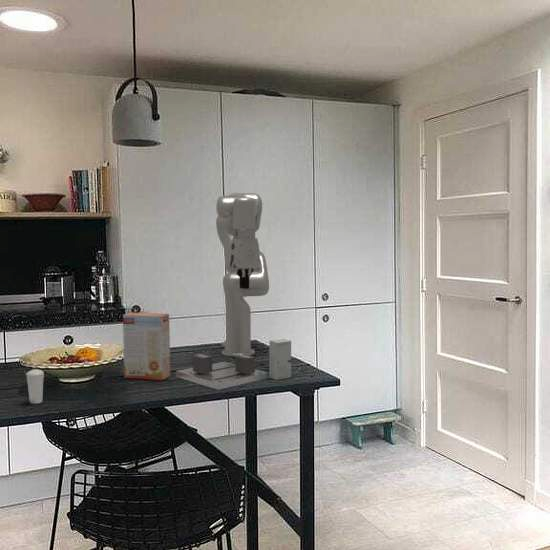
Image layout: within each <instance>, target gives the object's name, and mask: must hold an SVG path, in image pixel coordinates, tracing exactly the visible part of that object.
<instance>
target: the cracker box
mask: <svg viewBox="0 0 550 550" xmlns="http://www.w3.org/2000/svg"><path fill="white" fill-rule="evenodd" d="M122 329H123V331H122V334H123V335H122V337H123V338H122V340H123V341H122V342H123V372H124V374H123V375H124V377H123V378H126V379H138V380H139V379H140V380H150V381H151V380H154V381H164V380H166V379H169V378H170V377H171V348H170V347H171V340H170V338H171V337H170V332H171V331H170V329H171V328H170V314H169V313H157V312H128V313H124V314H123V315H122Z"/></svg>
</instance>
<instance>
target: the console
mask: <svg viewBox="0 0 550 550" xmlns="http://www.w3.org/2000/svg"><path fill="white" fill-rule="evenodd" d="M175 377H176V378H179V379H182V380H184V381H188V382H191V383H194V384H197V385H201V386H204V387H207V388H210V389H214V390H216V391H220V390H223V389H227V388H232V387H236V386H240V385H245V384H250V383H253V382H259V381H261V380H266V379H268V372H266V371H262V370H259V369H256V368H255V372H254V373H250V374H242V373H238V372H235V363H231V362H227V361H220V362H215V363H212V372H209V373H204V374H201V373H197V372H194V371H193V367H190V368H185V369H180V370H179V369H178V370H176V371H175Z"/></svg>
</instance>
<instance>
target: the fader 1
mask: <svg viewBox="0 0 550 550" xmlns="http://www.w3.org/2000/svg"><path fill="white" fill-rule="evenodd" d="M212 364H213V356H212V355H208V354H205V353H202V354H196V355H195V354H194V355H192V368H193V371H194V372H197V373H201V374H204V373H209V372H212Z"/></svg>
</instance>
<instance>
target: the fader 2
mask: <svg viewBox="0 0 550 550" xmlns="http://www.w3.org/2000/svg"><path fill="white" fill-rule="evenodd" d="M234 358H235V359H234V360H235V362H234V364H235V372H238V373H242V374H250V373H254V372H255V369H256V357H255V356H253V355H250V356H249V355H239V356H235V357H234Z"/></svg>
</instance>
